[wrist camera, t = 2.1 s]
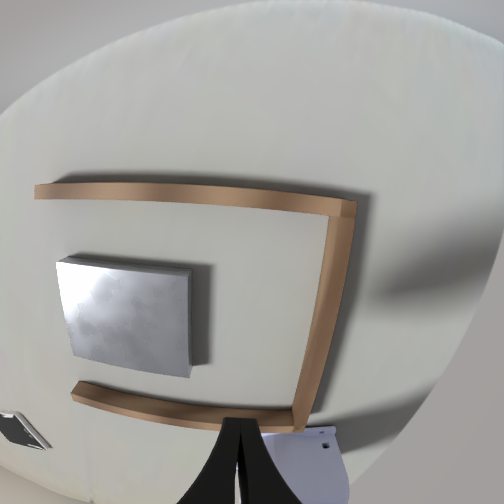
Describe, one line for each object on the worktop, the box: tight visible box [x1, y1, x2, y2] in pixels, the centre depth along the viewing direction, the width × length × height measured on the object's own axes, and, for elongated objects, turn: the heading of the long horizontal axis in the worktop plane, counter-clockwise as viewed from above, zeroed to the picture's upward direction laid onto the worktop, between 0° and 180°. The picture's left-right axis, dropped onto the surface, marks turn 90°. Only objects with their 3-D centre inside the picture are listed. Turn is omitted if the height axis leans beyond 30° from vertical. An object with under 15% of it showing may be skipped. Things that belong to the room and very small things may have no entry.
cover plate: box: [57, 257, 192, 378], centre depth 18 cm, size 10×8×2 cm
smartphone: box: [0, 410, 49, 451], centre depth 24 cm, size 8×1×15 cm
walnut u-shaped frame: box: [35, 182, 358, 433], centre depth 18 cm, size 21×19×2 cm
